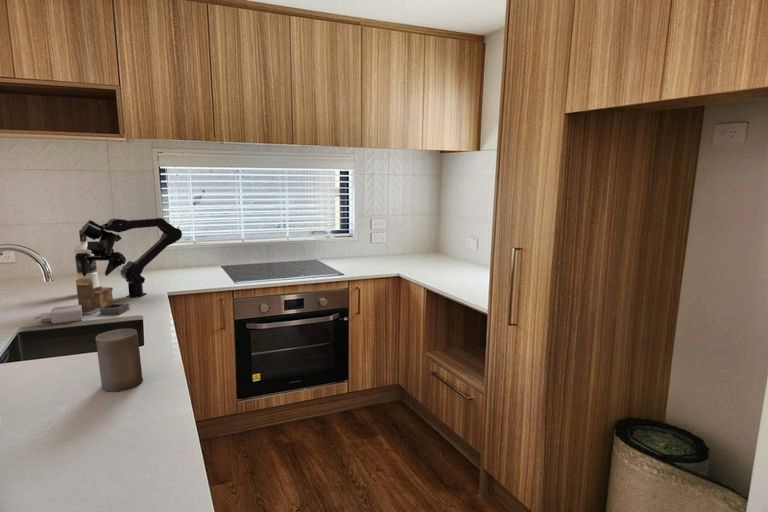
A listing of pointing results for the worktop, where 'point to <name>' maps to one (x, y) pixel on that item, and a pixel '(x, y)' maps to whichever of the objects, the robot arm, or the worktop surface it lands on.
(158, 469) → the worktop surface
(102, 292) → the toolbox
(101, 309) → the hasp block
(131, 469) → the worktop surface
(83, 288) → the brown rectangular block
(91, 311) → the rubber mat
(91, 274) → the vodka
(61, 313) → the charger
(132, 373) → the pillar candle
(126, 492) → the worktop surface
